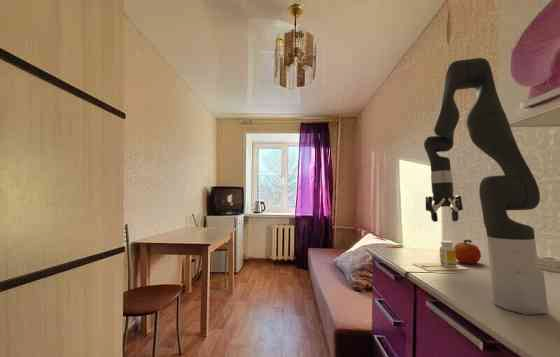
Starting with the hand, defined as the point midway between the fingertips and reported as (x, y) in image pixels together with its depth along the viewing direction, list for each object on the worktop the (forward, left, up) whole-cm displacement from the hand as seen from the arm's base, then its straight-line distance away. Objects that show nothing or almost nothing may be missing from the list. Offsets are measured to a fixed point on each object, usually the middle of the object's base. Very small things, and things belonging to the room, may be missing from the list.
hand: (445, 221), depth 105 cm
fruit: (+5, -12, -18) cm, 22 cm away
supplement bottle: (0, 0, -18) cm, 18 cm away
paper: (0, +4, -18) cm, 19 cm away
